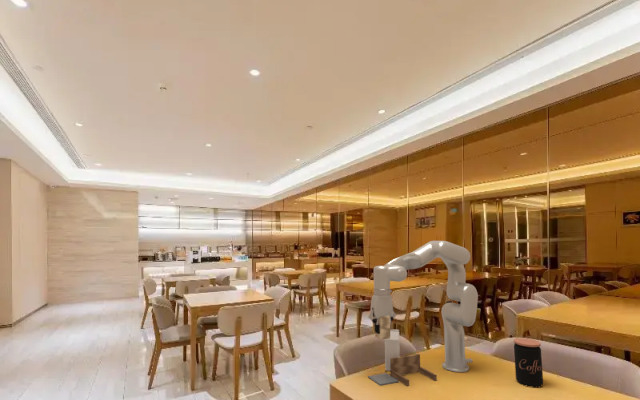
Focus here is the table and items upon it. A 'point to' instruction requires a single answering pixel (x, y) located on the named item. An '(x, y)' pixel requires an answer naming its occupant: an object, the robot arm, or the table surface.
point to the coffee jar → (528, 362)
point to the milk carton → (391, 348)
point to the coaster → (383, 379)
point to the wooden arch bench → (408, 368)
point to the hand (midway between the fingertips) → (382, 332)
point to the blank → (384, 328)
